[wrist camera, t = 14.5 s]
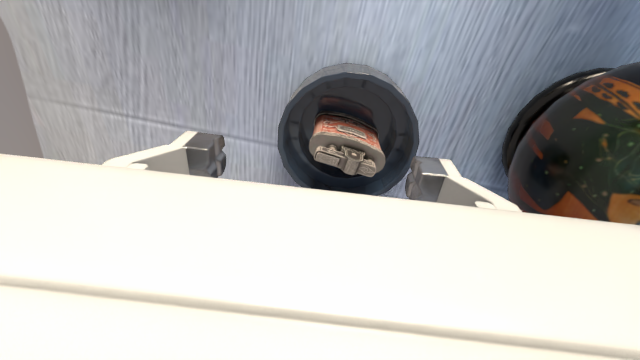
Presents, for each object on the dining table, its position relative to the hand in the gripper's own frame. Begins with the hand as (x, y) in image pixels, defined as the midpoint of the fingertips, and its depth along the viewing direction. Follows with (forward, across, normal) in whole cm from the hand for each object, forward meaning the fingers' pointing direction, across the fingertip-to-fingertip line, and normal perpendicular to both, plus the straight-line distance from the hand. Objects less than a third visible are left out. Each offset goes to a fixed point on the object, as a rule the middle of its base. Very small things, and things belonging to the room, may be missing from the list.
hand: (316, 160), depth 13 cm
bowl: (+24, -2, +8) cm, 26 cm away
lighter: (+24, -2, +8) cm, 25 cm away
